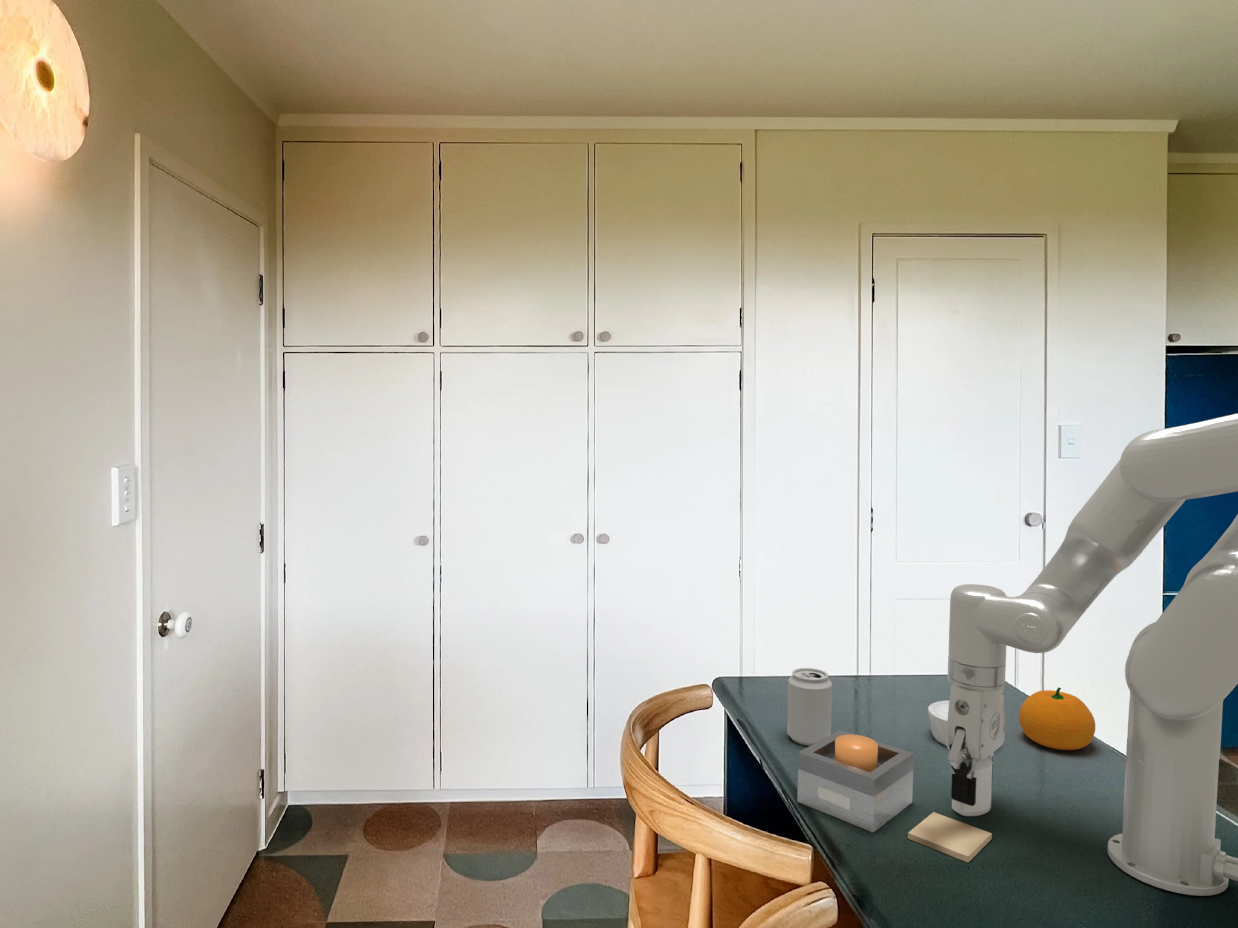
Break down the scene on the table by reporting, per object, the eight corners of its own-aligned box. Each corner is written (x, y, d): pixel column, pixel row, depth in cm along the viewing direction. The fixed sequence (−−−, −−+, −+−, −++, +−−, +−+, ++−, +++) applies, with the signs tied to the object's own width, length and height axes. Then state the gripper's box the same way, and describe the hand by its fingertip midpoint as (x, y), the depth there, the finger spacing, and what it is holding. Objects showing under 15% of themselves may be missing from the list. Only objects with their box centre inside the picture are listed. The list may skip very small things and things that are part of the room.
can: (839, 744, 137) (841, 676, 136) (803, 750, 134) (804, 681, 133) (813, 728, 144) (815, 663, 143) (778, 733, 141) (780, 668, 140)
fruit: (1103, 743, 138) (1105, 687, 137) (1082, 763, 130) (1085, 704, 129) (1031, 724, 146) (1033, 671, 145) (1007, 742, 138) (1010, 686, 137)
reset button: (884, 779, 116) (885, 743, 115) (864, 792, 112) (865, 755, 111) (847, 766, 120) (848, 731, 120) (826, 778, 116) (827, 742, 116)
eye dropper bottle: (996, 819, 111) (999, 737, 111) (954, 816, 112) (957, 734, 111) (987, 804, 116) (990, 725, 115) (947, 801, 117) (949, 722, 116)
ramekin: (931, 750, 135) (932, 720, 134) (923, 725, 145) (923, 697, 145) (1002, 757, 132) (1004, 726, 132) (988, 731, 143) (989, 703, 142)
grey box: (912, 802, 116) (913, 753, 116) (872, 833, 107) (873, 780, 107) (838, 775, 125) (840, 729, 124) (796, 802, 116) (797, 752, 115)
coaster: (991, 839, 106) (991, 833, 106) (968, 862, 101) (968, 856, 100) (933, 817, 112) (933, 811, 112) (907, 838, 106) (908, 832, 106)
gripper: (980, 693, 104) (975, 826, 105) (1024, 665, 116) (1020, 784, 117) (924, 679, 109) (920, 806, 110) (972, 653, 121) (968, 767, 122)
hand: (971, 793), depth 114 cm, fingers closed on eye dropper bottle, 5 cm apart
